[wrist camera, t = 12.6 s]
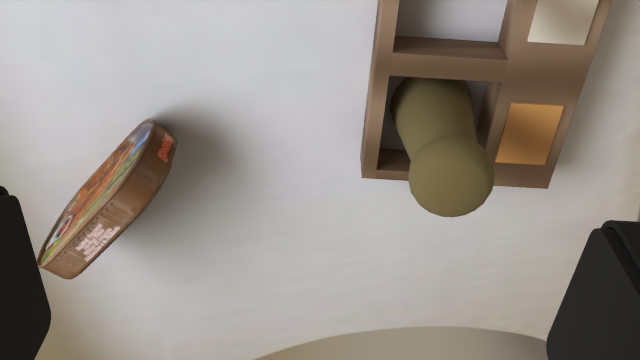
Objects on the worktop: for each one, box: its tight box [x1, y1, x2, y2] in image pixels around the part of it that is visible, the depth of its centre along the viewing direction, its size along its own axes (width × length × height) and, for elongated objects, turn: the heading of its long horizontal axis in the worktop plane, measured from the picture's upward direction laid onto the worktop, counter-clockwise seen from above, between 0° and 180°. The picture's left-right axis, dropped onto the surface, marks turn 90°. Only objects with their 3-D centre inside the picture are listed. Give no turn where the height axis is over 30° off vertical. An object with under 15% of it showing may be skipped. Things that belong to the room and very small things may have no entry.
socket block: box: [360, 0, 612, 189], centre depth 41 cm, size 18×14×3 cm
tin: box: [37, 119, 178, 279], centre depth 45 cm, size 15×3×8 cm, turn 136°
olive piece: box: [390, 77, 495, 217], centre depth 40 cm, size 6×6×11 cm
